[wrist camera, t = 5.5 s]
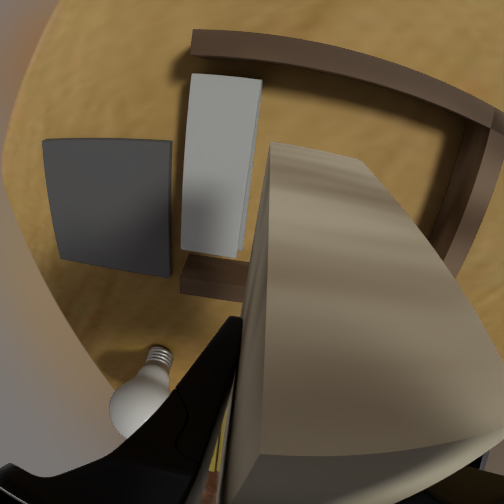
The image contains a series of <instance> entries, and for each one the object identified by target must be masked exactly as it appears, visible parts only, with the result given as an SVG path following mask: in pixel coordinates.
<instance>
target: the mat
mask: <svg viewBox="0 0 504 504" xmlns="http://www.w3.org/2000/svg"><path fill="white" fill-rule="evenodd" d="M42 147H43V159H44V168H45V177H46V185H47V192H48V198H49V205H50V211H51V216H52V222H53V227H54V232H55V237H56V241H57V246H58V250H59V254H60V259H64V260H69V261H75V262H80V263H85V264H90V265H95V266H101V267H106V268H112V269H117V270H123V271H129V272H134V273H140V274H146V275H152V276H158V277H164V278H170V277H171V275H172V265H171V167H172V141H168V140H151V139H126V138H59V139H45V140H43V141H42Z"/></svg>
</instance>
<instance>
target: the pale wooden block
mask: <svg viewBox="0 0 504 504" xmlns="http://www.w3.org/2000/svg"><path fill="white" fill-rule="evenodd" d="M240 317H241V318H242V319H243V323H242V333H241V343H240V349H239V355H238V360H237V365H236V371H235V376H234V381H233V386H232V390H231V393H230V397H229V400H228V407H227V415H226V423H225V431H224V439H223V447H222V456H221V464H220V472H219V480H218V488H217V497H216V504H394V503H397V502H399V501H401V500H403V499H405V498H408V497H410V496H412V495H414V494H416V493H418V492H420V491H422V490H424V489H426V488H428V487H430V486H432V485H434V484H435V483H437V482H439V481H441V480H443V479H444V478H446V477H448V476H450V475H451V474H453V473H455V472H456V471H458V470H460V469H461V468H463V467H464V466H466V465H468V464H469V463H471V462H472V461H474V460H475V459H477V458H478V457H480V456H481V455H483V454H484V453H485V452H487V451H488V450H490V449H491V448H492V447H494V446H495V445H496V444H498V443H499V442H500V441H502V440H503V439H504V363H503V361H502V359H501V357H500V355H499V353H498V351H497V350H496V348H495V346H494V344H493V342H492V340H491V338H490V336H489V335H488V333H487V331H486V329H485V327H484V326H483V324H482V322H481V320H480V319H479V317H478V315H477V314H476V312H475V310H474V308H473V307H472V305H471V304H470V302H469V300H468V299H467V297H466V295H465V294H464V292H463V291H462V289H461V288H460V286H459V285H458V283H457V281H456V280H455V278H454V277H453V275H452V274H451V272H450V271H449V270H448V268H447V267H446V265H445V264H444V262H443V261H442V259H441V258H440V257H439V255H438V254H437V252H436V251H435V250H434V248H433V247H432V246H431V244H430V243H429V241H428V240H427V239H426V237H425V236H424V235H423V233H422V232H421V231H420V230H419V228H418V227H417V226H416V224H415V223H414V222H413V221H412V219H411V218H410V217H409V215H408V214H407V213H406V212H405V210H404V209H403V208H402V207H401V206H400V204H399V203H398V202H397V201H396V200H395V198H394V197H393V196H392V195H391V194H390V192H389V191H388V190H387V189H386V188H385V187H384V185H383V184H382V183H381V182H380V181H379V180H378V179H377V178H376V176H375V175H374V174H373V173H372V172H371V171H370V170H369V169H368V168H367V166H366V165H365V164H364V163H363V162H362V161H361V160H360V159H356V158H351V157H347V156H343V155H338V154H334V153H329V152H325V151H320V150H315V149H310V148H305V147H300V146H295V145H289V144H284V143H278V142H272V141H270V146H269V152H268V158H267V164H266V170H265V175H264V181H263V187H262V193H261V199H260V205H259V211H258V216H257V222H256V228H255V234H254V240H253V246H252V251H251V257H250V263H249V269H248V275H247V281H246V287H245V292H244V298H243V304H242V310H241V316H240Z"/></svg>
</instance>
